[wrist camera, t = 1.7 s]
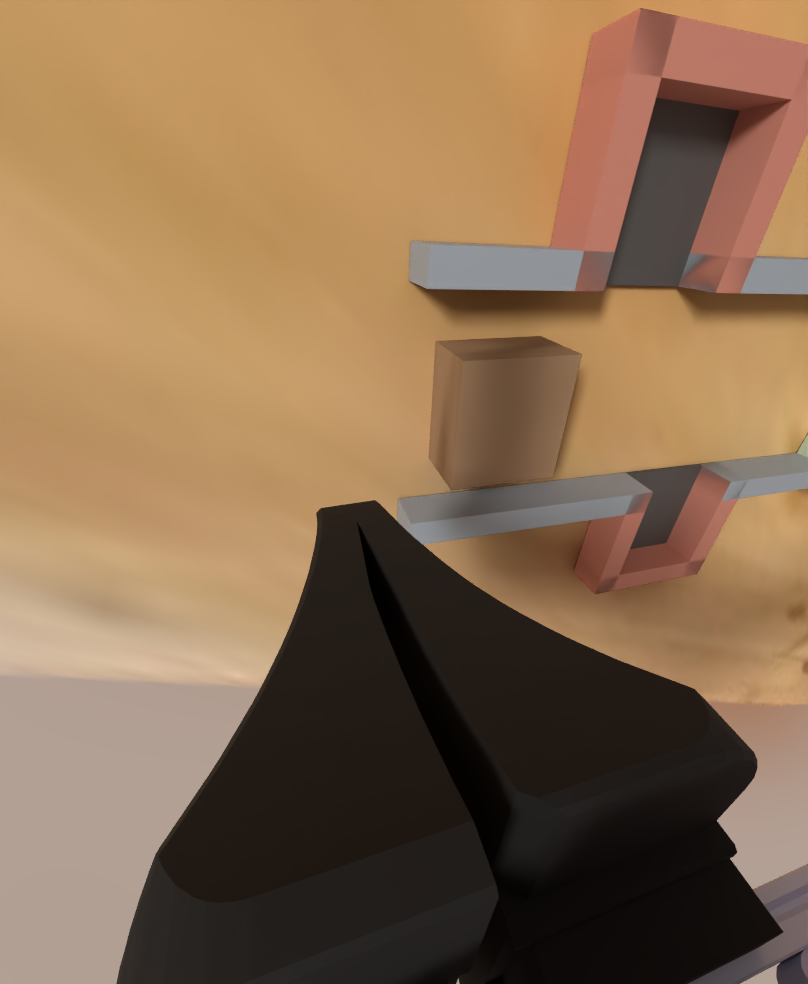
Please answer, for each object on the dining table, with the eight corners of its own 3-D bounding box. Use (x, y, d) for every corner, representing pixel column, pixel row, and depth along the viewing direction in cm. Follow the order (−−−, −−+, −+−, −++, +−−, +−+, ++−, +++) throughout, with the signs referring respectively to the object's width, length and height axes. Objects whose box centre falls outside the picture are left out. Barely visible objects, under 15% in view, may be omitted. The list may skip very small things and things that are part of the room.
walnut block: (537, 334, 18) (582, 354, 15) (517, 445, 20) (553, 476, 18) (433, 339, 17) (463, 361, 14) (427, 455, 19) (451, 490, 17)
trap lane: (1015, 115, 18) (1131, 101, 16) (758, 537, 30) (802, 566, 28) (422, 1, 11) (466, -56, 9) (393, 603, 23) (409, 648, 21)
